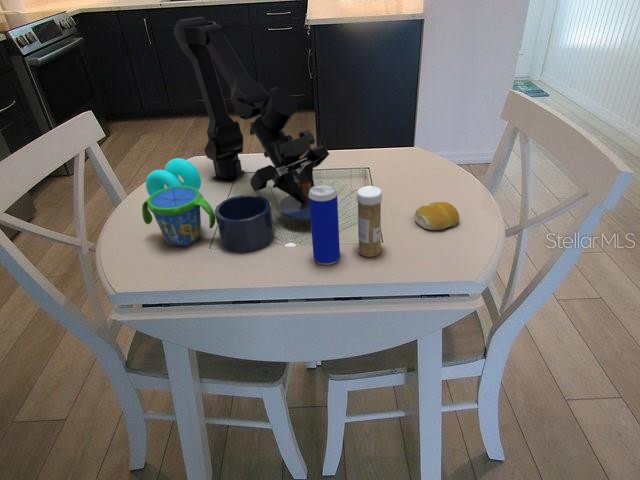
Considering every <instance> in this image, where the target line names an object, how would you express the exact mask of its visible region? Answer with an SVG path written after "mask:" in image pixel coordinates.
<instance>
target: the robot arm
mask: <svg viewBox="0 0 640 480" xmlns="http://www.w3.org/2000/svg"><path fill="white" fill-rule="evenodd" d="M225 32H226V31H225V29H224V27H223V26H222V25H221V24H218V23H216V21H210V20H207V18H205V17H204V16H197V17H190V18H183V19H178V20H177V21H176V23H175V26H174V27H173V36H174V38H175V41H176V42H177V43H178V45H179V46H178V47H179V48H180V51H181V52H182V53H183V54H184V55H185V56H186V57H187V58H188V59H189V60H190V61H191V63H192V64H191V65H192V67H193V70H194V73H195V76H196V77H195V78H196V80H197V84H198V86H199V90H200V93H201V97H202V100H203V102H204V107H205V109H206V113H207V116H208V119H209V121H208V126H207V129H206V135H207V139H208V141H207V142H206V145H205V147H204V153H205V157H206V158H207V159H210V160H211V161H212V164H213V169H214V173H215V174H214V176H212V180H214V181H221V182H229V183H234V182H235V181H236V180H237V179H239V178H240V177H241V176H242V175H244V174H245V170H243V169H242V162H241V159H240V158H239V154H242V153H243V152H244V135H243V133H242V130H241V125H240V123H239V122H238V121H236V120H233V118H232V117H231V116H230V115H229V113H228V109H227V106H226V102H225V99H224V94H223V92H222V87H221V85H220V82H219V78H218V74H217V71H216V68H215V65H216V66H217V68H218V70H219V72H220V74H221V76H222V77H223V79H224V80H225V82H226V83H227V85H228V87H229V90H230V102H231V104H232V106H233V109H234V112H235V114H236V115H237V116H238V117H239V118H240V119H241V120H245V121H247V120H250V119H254V118H255V120H254V121H251V122H250V129H249V135H250V136H254V135H255V136H256V138H257V140H258V141H259V143H260V146H262V148H263V150H264V152H263V156H264V157H265V158H269V160H270V161H271V163H272V165H271V164H269V165H266V166H264V167H261V168H257V169H256V171H255V172H254V174H253V175H252V176H251V178H250V179H249V180H250V181H249V184H250V187H251V188H252V190H253V192H255V193H256V192H259V191H261V190H264V189H266V188H267V186H268V182H269V181H272V182H273V185H271V186H272V188H273V189H278V190H280V191H282V192H284V193H286V194H287V195H288V196H289V195H291V196H292V197H293V198H295V199H296V200H298V201H299V202H301V203H302V204H305V203H306V200H305V198H304V196H303V194H302V192H301V191H300V189H299V187H298V186H297V184H296V182H295V181H294V178H293V172H292V171H294V170H297V172H298V175H297V176H296V178H297V179H298V180H299V182H301V181H310V182H311V188H312V187H313V186H315V181H314V175H313V172H314V168H317V167H318V166H320V165H321V164H322V163H323V162H324V161H325V160H326V159H327V157H329V156H330V152H329V151H328V149H327V148H326V146H324V145H319V146H316V147H313V148H312V146H311V145H314V144H315V142H316V139H315V136H314V134H313V133H312V132H311V130H310V129H305V130H303V131H300V132H299V133H298V137H297V138H293V136H292V135H290V134H288V135H287V134H286V132H285V131H284V129H285V128H286V126H287V125H288V124H289V123H290V121H291V119H292V118H293V116H295V114H296V112H297V110H298V103H297V100H296V99H295V98H294V97H293V96H292V95H291V94H289V93H287V92H285V91H281V89H280V88H279V87H278V86H277V87H273V88H270V89H269V90H268V92H267V91H266V89H265V88H264V87H263V85H262V84H261V83H260V82H259V81H257V80H256V79H254V78H253V77H251V76H250V75H249V74H248V72H247V70H246V69H245V66H243V64H242V62H241V60H240V58H239V57H238V55H237V54H236V52H235V50H234V48H233V47H232V44H230V42H229V40H228V39H227V36H226V33H225ZM214 63H215V64H214ZM306 150H307V151H308V152H307V154H306V155H305V156H304V157H303V158H299V157H300V156H302V155H303V154H304V151H306ZM294 165H295V166H294Z"/></svg>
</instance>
